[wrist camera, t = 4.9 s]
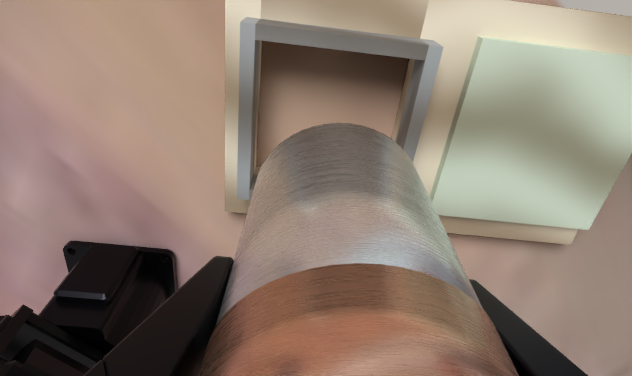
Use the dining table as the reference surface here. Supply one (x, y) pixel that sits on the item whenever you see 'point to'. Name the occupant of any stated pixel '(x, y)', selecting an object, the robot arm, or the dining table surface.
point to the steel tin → (348, 271)
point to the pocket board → (465, 102)
